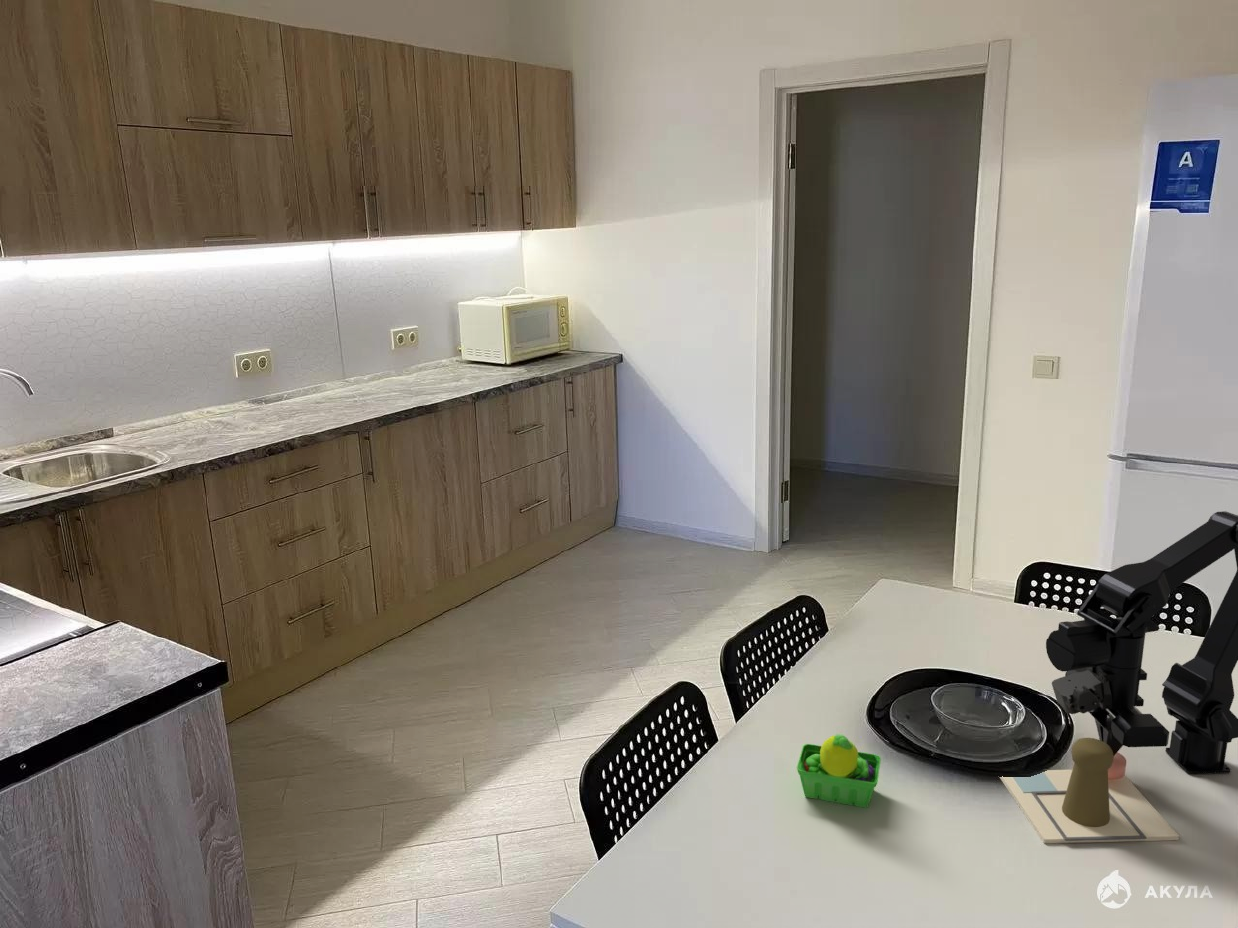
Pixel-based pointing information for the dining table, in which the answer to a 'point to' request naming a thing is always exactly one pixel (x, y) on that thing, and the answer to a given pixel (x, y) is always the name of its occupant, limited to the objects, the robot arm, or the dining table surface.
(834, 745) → the fruit basket
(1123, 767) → the button
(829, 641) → the dining table surface
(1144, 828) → the colouring board
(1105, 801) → the cork
